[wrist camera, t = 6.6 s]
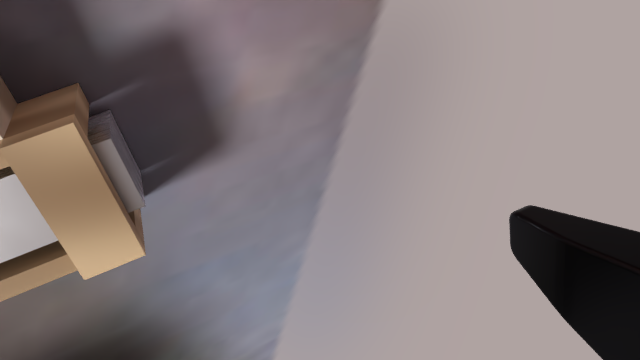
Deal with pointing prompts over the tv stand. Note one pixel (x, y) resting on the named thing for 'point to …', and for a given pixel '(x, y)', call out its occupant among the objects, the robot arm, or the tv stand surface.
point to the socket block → (65, 194)
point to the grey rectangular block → (24, 217)
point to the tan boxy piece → (5, 107)
